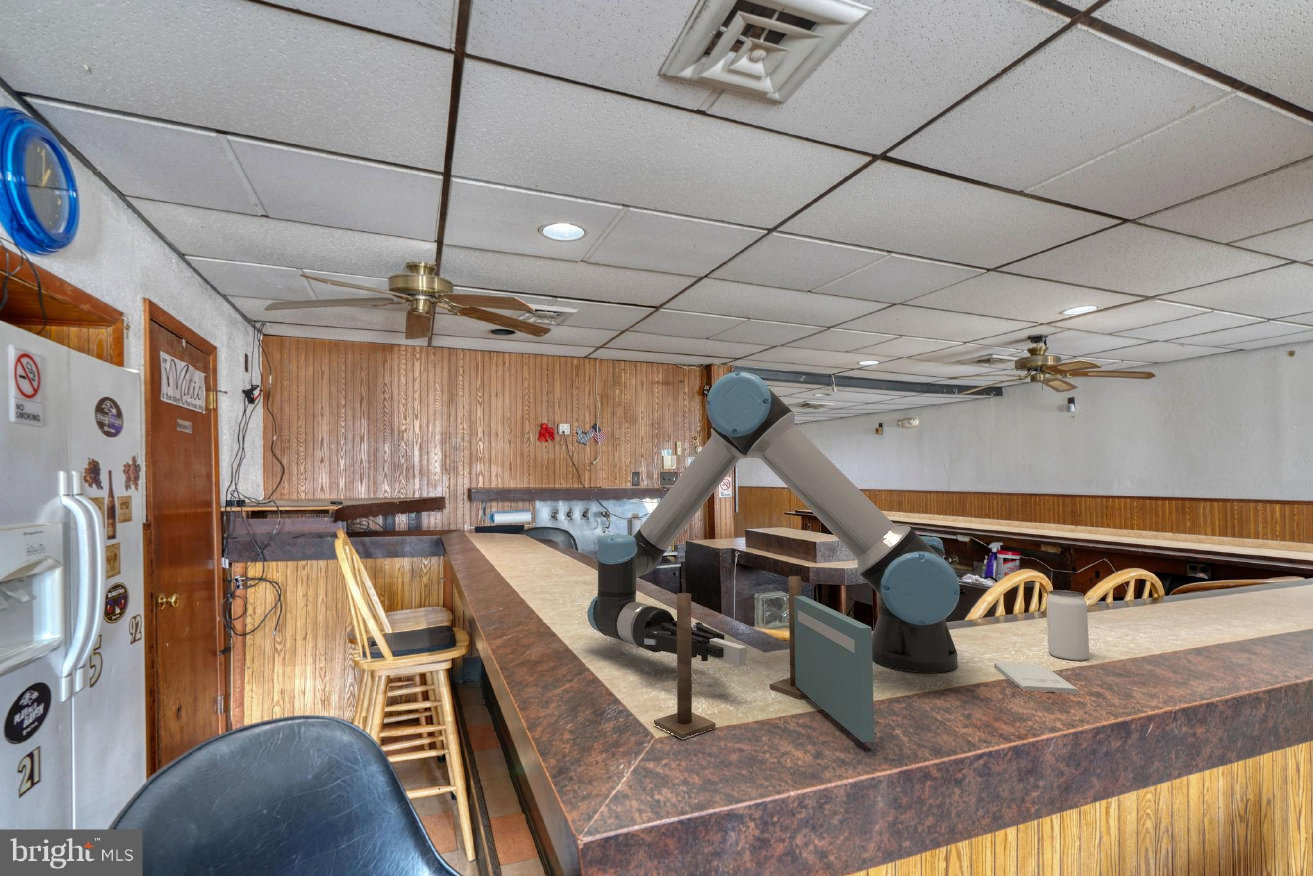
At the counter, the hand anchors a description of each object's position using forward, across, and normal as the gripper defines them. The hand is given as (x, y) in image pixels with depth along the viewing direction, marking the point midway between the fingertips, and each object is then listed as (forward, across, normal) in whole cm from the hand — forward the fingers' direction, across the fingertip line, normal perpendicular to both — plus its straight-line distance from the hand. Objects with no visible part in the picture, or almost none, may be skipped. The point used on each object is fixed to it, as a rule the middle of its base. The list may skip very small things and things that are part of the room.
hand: (742, 656), depth 92 cm
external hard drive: (+23, -46, -8) cm, 52 cm away
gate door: (+11, -6, -6) cm, 14 cm away
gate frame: (+1, 0, -7) cm, 7 cm away
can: (+22, -67, -7) cm, 70 cm away
